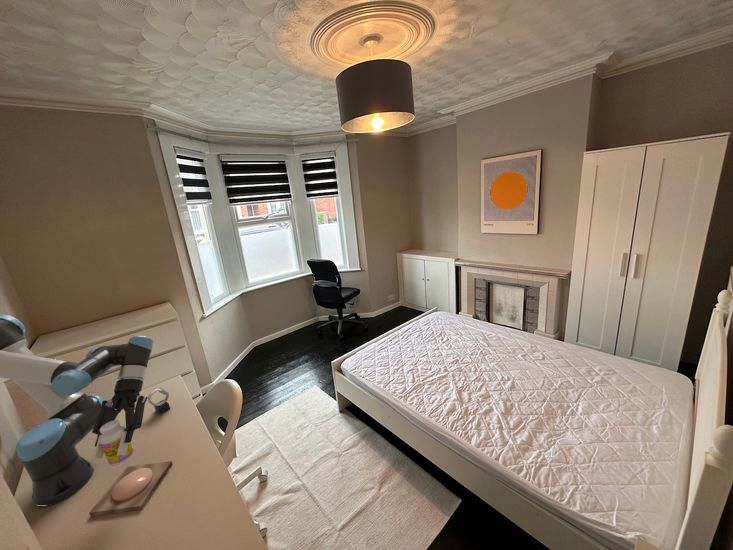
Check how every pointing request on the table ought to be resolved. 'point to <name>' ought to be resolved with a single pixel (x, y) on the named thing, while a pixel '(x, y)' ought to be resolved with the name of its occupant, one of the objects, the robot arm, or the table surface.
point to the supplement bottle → (114, 443)
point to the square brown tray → (138, 501)
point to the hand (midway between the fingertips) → (109, 456)
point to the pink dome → (132, 484)
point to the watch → (161, 405)
